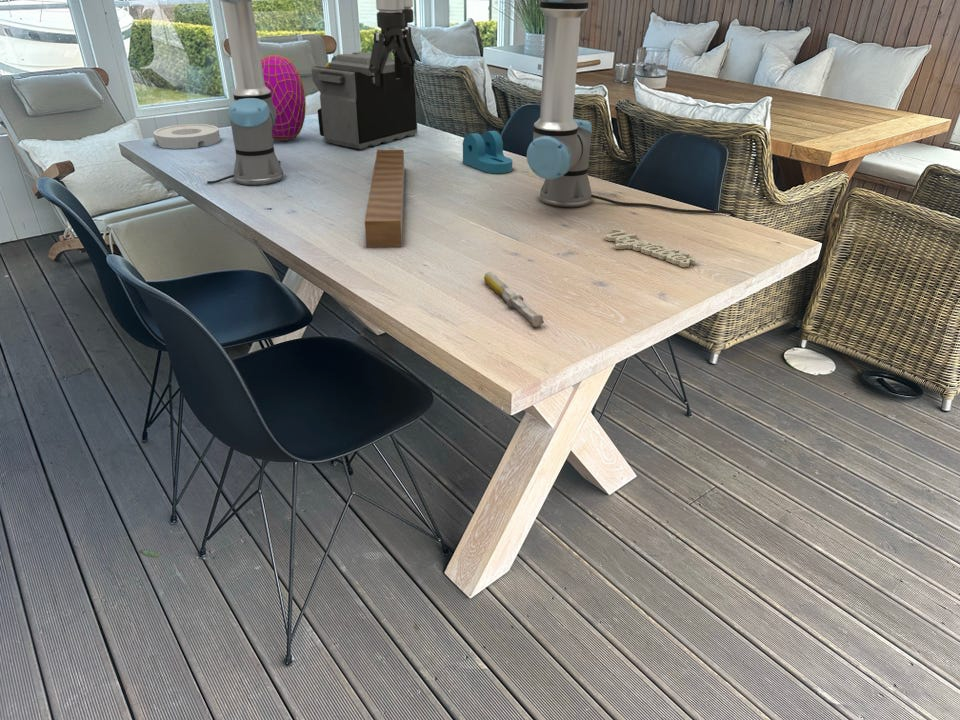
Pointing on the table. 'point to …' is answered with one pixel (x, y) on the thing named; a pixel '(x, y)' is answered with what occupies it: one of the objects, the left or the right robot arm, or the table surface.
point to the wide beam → (386, 201)
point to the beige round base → (186, 136)
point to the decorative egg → (285, 96)
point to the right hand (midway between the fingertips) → (394, 94)
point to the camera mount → (486, 152)
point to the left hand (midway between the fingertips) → (404, 81)
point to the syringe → (513, 299)
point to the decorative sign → (649, 248)
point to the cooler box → (363, 103)
